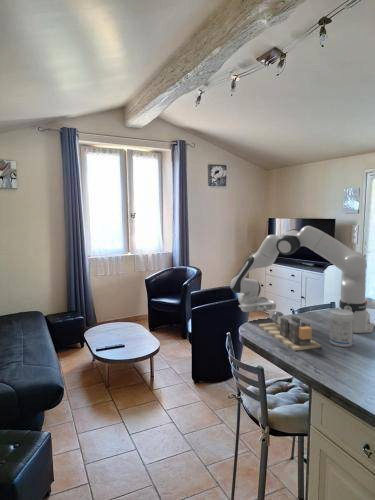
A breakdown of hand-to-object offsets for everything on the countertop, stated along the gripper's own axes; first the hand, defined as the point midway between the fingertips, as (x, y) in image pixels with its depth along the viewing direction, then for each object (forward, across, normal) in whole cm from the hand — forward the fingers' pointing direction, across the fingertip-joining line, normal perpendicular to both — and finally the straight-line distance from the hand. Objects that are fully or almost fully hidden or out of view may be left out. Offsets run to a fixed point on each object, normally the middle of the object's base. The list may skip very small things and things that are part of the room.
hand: (264, 310), depth 180 cm
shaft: (+20, 0, +3) cm, 20 cm away
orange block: (+38, 0, +2) cm, 38 cm away
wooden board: (+24, 0, +6) cm, 25 cm away
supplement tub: (+39, +18, +7) cm, 43 cm away
